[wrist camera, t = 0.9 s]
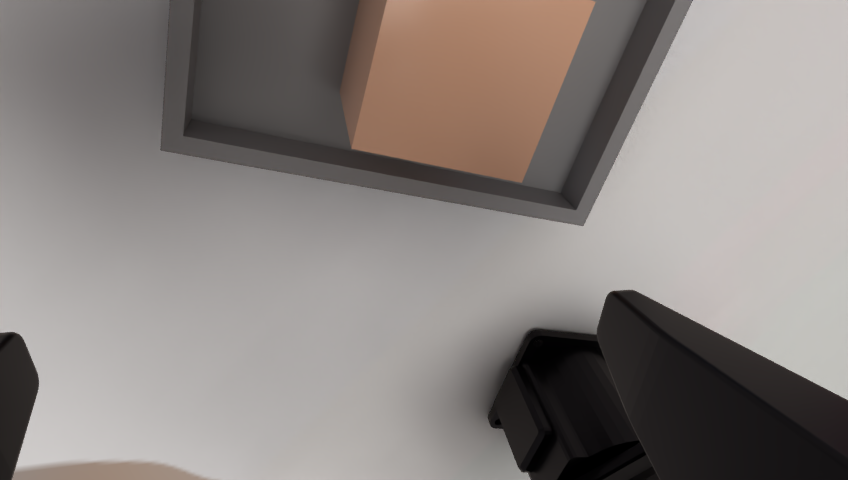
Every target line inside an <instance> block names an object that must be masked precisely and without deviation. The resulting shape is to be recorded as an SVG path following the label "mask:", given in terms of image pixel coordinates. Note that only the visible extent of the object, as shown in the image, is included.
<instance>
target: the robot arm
mask: <svg viewBox="0 0 848 480" xmlns="http://www.w3.org/2000/svg"><path fill="white" fill-rule="evenodd" d="M536 340H538V341H536ZM535 341H536V342H535ZM38 387H39V378H38V374H37V371H36V368H35V366H34V363H33V361H32V359H31V356H30V354H29V351H28V349H27V347H26V344H25V342H24V340H23V338H22V337H21V336H20V335H19V334H18V333H15V332H5V333H0V480H12V477H13V474H14V471H15V467H16V464H17V461H18V457H19V454H20V450H21V447H22V444H23V440H24V437H25V433H26V430H27V427H28V423H29V420H30V416H31V413H32V410H33V406H34V403H35V399H36V396H37V393H38ZM488 420H489V423H490V425H491V427H493V428H499V429H504V432H505V434H506V437H507V439H508V442H509V445H510V447H511V450H512V452H513V455H514V458H515V460H516V463H517V465H518V467H519V469H520V470H521V472H528V474H529V476H530V479H531V480H848V400H846V399H844V398H843V397H841V396H839V395H837V394H835V393H833V392H831V391H829V390H827V389H825V388H823V387H821V386H819V385H817V384H815V383H813V382H811V381H809V380H808V379H806V378H804V377H802V376H800V375H798V374H796V373H794V372H792V371H790V370H788V369H786V368H784V367H782V366H780V365H778V364H776V363H774V362H773V361H771V360H769V359H767V358H765V357H763V356H761V355H759V354H757V353H755V352H753V351H751V350H749V349H747V348H745V347H743V346H741V345H740V344H738V343H736V342H734V341H732V340H730V339H728V338H726V337H724V336H722V335H720V334H718V333H716V332H714V331H712V330H710V329H708V328H706V327H705V326H703V325H701V324H699V323H697V322H695V321H693V320H691V319H689V318H687V317H685V316H683V315H681V314H679V313H677V312H675V311H673V310H672V309H670V308H668V307H666V306H664V305H662V304H660V303H658V302H656V301H654V300H652V299H650V298H648V297H646V296H644V295H642V294H640V293H639V292H637V291H634V290H620V291H612V292H610V293H609V294H608V295H607V297H606V299H605V303H604V306H603V310H602V313H601V317H600V320H599V324H598V328H597V336H590V335H580V334H571V333H562V332H553V331H544V330H535V331H532V332H531V333H529V334H528V335H527V337H526V339H525V341H524V343H523V345H522V347H521V349H520V351H519V353H518V355H517V357H516V359H515V361H514V363H513V366H512V368H511V369H510V370H509V372H508V374H507V376H506V378H505V381H504V383H503V385H502V387H501V389H500V391H499V393H498V395H497V397H496V399H495V401H494V405H493V407H492V409H491V411H490V413H489V415H488Z"/></svg>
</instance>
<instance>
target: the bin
mask: <svg viewBox="0 0 848 480" xmlns="http://www.w3.org/2000/svg"><path fill="white" fill-rule="evenodd" d="M592 1H594V2H595V5H594V7H593V10H592V12H591V15H590V17H589V20H588V22H587V24H586V27H585V29H584V32H583V34H582V37H581V39H580V42H579V44H578V47H577V49H576V51H575V54H574V56H573V59H572V61H571V64H570V66H569V69H568V71H567V74H566V76H565V78H564V81H563V83H562V86H561V88H560V91H559V93H558V96H557V98H556V100H555V103H554V105H553V108H552V110H551V113H550V115H549V118H548V120H547V123H546V125H545V127H544V130H543V132H542V135H541V137H540V140H539V142H538V145H537V147H536V150H535V152H534V154H533V157H532V159H531V162H530V164H529V167H528V169H527V172H526V174H525V176H524V179H523V181H522V183H520V182H515V181H510V180H505V179H500V178H495V177H490V176H485V175H480V174H475V173H470V172H465V171H460V170H455V169H450V168H445V167H440V166H435V165H430V164H425V163H420V162H415V161H410V160H405V159H400V158H395V157H390V156H385V155H380V154H375V153H370V152H365V151H360V150H355V149H351V144H350V140H349V135H348V130H347V125H346V120H345V116H344V111H343V106H342V101H341V96H340V88H341V83H342V78H343V74H344V69H345V64H346V60H347V55H348V51H349V46H350V41H351V37H352V32H353V27H354V23H355V18H356V14H357V9H358V4H359V0H170V9H169V24H168V40H167V56H166V72H165V88H164V103H163V119H162V135H161V150H162V151H167V152H173V153H178V154H184V155H189V156H195V157H201V158H206V159H212V160H217V161H223V162H228V163H234V164H240V165H245V166H251V167H256V168H262V169H267V170H273V171H279V172H284V173H290V174H295V175H301V176H306V177H312V178H318V179H323V180H329V181H334V182H340V183H345V184H351V185H357V186H362V187H368V188H373V189H379V190H384V191H390V192H395V193H401V194H407V195H412V196H418V197H423V198H429V199H434V200H440V201H446V202H451V203H457V204H462V205H468V206H473V207H479V208H485V209H490V210H496V211H501V212H507V213H512V214H518V215H524V216H529V217H535V218H540V219H546V220H551V221H557V222H563V223H568V224H574V225H579V226H583V225H584V223H585V221H586V219H587V217H588V215H589V213H590V211H591V209H592V207H593V205H594V203H595V201H596V199H597V197H598V195H599V193H600V190H601V188H602V186H603V184H604V182H605V180H606V178H607V176H608V174H609V172H610V170H611V168H612V166H613V164H614V162H615V160H616V158H617V156H618V153H619V151H620V149H621V147H622V145H623V143H624V141H625V139H626V137H627V135H628V133H629V131H630V129H631V127H632V125H633V123H634V121H635V118H636V116H637V114H638V112H639V110H640V108H641V106H642V104H643V102H644V100H645V98H646V96H647V94H648V92H649V90H650V88H651V86H652V83H653V81H654V79H655V77H656V75H657V73H658V71H659V69H660V67H661V65H662V63H663V61H664V59H665V57H666V55H667V53H668V51H669V48H670V46H671V44H672V42H673V40H674V38H675V36H676V34H677V32H678V30H679V28H680V26H681V24H682V22H683V20H684V18H685V16H686V14H687V11H688V9H689V7H690V5H691V3H692V1H693V0H592Z"/></svg>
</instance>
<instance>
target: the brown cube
mask: <svg viewBox="0 0 848 480" xmlns="http://www.w3.org/2000/svg"><path fill="white" fill-rule="evenodd" d="M594 5H595V2H594V1H592V0H359V4H358V9H357V14H356V18H355V23H354V27H353V32H352V37H351V41H350V46H349V51H348V55H347V60H346V64H345V69H344V74H343V78H342V83H341V88H340V96H341V101H342V106H343V111H344V116H345V120H346V125H347V130H348V135H349V140H350V144H351V149H355V150H360V151H365V152H370V153H375V154H380V155H385V156H390V157H395V158H400V159H405V160H410V161H415V162H420V163H425V164H430V165H435V166H440V167H445V168H450V169H455V170H460V171H465V172H470V173H475V174H480V175H485V176H490V177H495V178H500V179H505V180H510V181H515V182H520V183H522V181H523V179H524V176H525V174H526V172H527V169H528V167H529V164H530V162H531V159H532V157H533V154H534V152H535V150H536V147H537V145H538V142H539V140H540V137H541V135H542V132H543V130H544V127H545V125H546V123H547V120H548V118H549V115H550V113H551V110H552V108H553V105H554V103H555V100H556V98H557V96H558V93H559V91H560V88H561V86H562V83H563V81H564V78H565V76H566V74H567V71H568V69H569V66H570V64H571V61H572V59H573V56H574V54H575V51H576V49H577V47H578V44H579V42H580V39H581V37H582V34H583V32H584V29H585V27H586V24H587V22H588V20H589V17H590V15H591V12H592V10H593V7H594Z"/></svg>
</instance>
